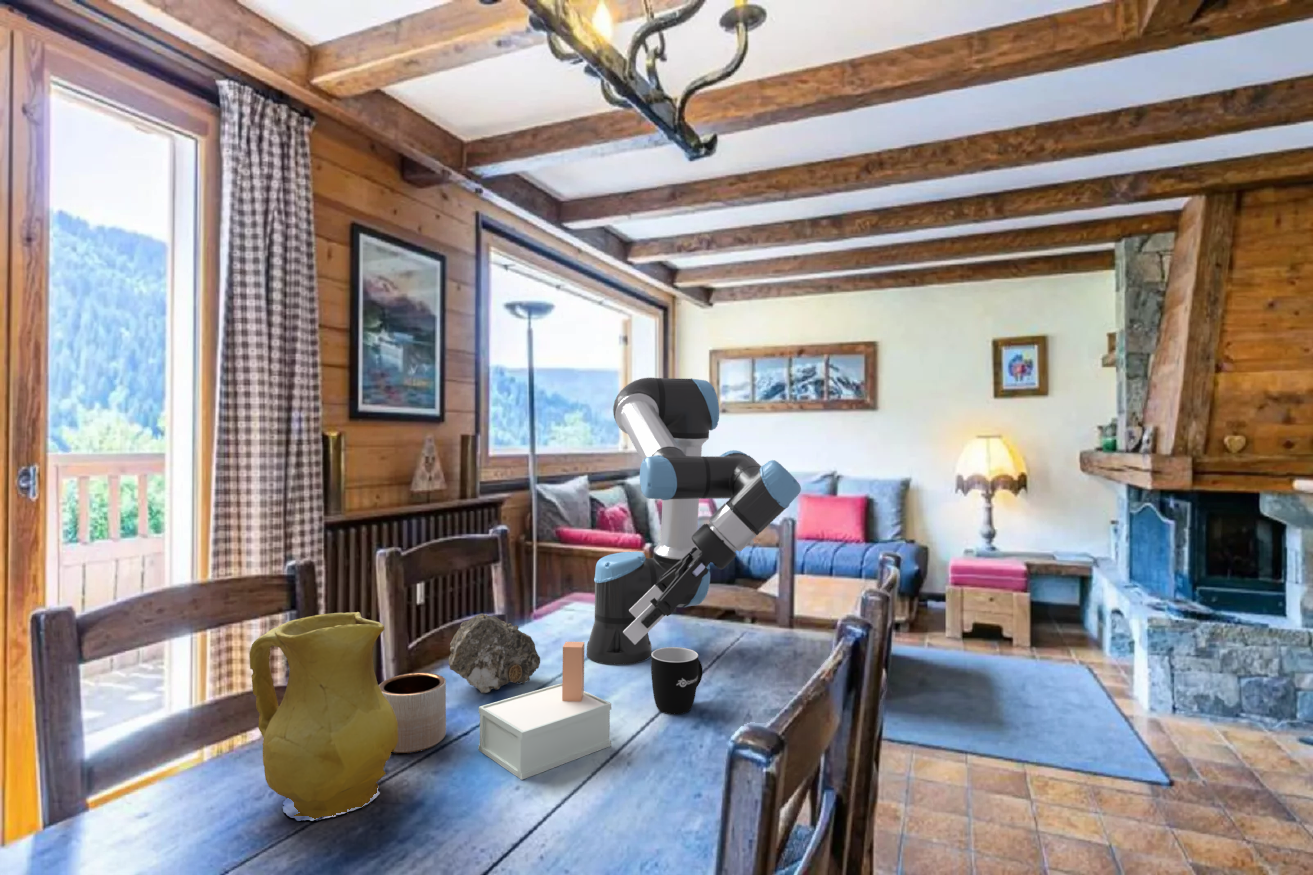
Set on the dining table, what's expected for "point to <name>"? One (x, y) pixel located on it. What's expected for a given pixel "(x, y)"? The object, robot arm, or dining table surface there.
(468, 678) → the rock
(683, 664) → the mug
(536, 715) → the lid
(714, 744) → the dining table surface
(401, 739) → the planter
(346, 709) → the pitcher
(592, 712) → the tub
